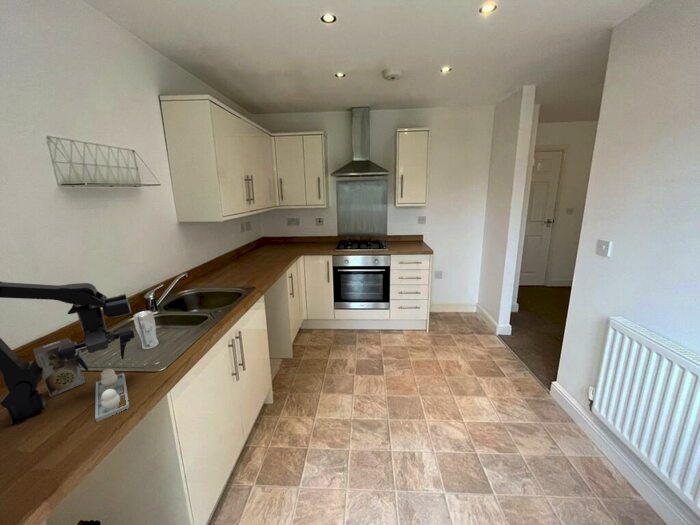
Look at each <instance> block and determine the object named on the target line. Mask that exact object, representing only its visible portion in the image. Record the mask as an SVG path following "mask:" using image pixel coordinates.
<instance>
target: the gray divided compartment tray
mask: <svg viewBox="0 0 700 525" xmlns="http://www.w3.org/2000/svg"><path fill="white" fill-rule="evenodd" d="M116 375H117V376H118V380H117V385H116V386H113V387H111V388H108V389H114V390H116V392H117V394H118V395H119V394H120V393H122V392H123V390H122V387H123V388H124V394H121V395H119V396H120V399H122V398H124V397H125V400H126V405H125V406H122V407H120V408H117V409H115V410H112V411H110V412H107V411H106V409H105V408H103V407H102V405H101V402H102V399H101V395H102V393H103V392H104V391H105V390H107V389H106V388H105V386H103V385H102V384H101V380H99V381H96V382H95V403H94V404H95V408H94V409H95V410H94V412H95V414H94V419H95V422H96V423H98V422H101V421H103V420H105V419H108V418H110V417H112V415H113V416H115V415H117V414H119V412H120V413H122V412H124V411H123V410H125V409H127V410H129V409H130V408H129V407H130V400H129V395H128V388H127V382H126V375H125V372H122V373H119V374H116ZM120 389H121V390H122V391H121V390H120ZM128 400H129V401H128ZM128 408H129V409H128ZM121 411H122V412H121ZM125 411H126V410H125ZM116 413H117V414H116Z"/></svg>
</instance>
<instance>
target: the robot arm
mask: <svg viewBox="0 0 700 525" xmlns="http://www.w3.org/2000/svg"><path fill="white" fill-rule="evenodd" d="M0 299H21V300H22V299H23V300H53V301H58V302H61V303H64V304H70V305H72V306H71V308H70V309H69V310H68V311H67V314H68V315H72V314H77V317H78V321H79V325H80V326H81V327H80V328H81V329H82V333H83V336H84V337H83V342H81V343H78V342H76V341H71V343H67V344H64V345H61V346H60V348H59V351H58V355H59V358H60V360H63V359H67V360H70V359H72V360H75V361H76V362H78V363H79V365H80V367H81V368H83V369H84V370H85V371H86V372H88V371H89V365H88V364H87V361H86V359H85V357H84V355H83V352H82V350H84V349H87V352H88V353H89V354H93V353H96V352H99V351H102V350H103V351H104V350H107V349H108V348H109V345H110V344H111V343H113V342H115V341H116V340H118V341H119V349H120V357H121V360H124V359H125V357H124V356H125V350H126V347H127V344H128V343H130V342H131V340H132V339H134V338H135V337H136V336H135V333H134V329H133V327H132V326H130V325H129V326H124V327H121V328H118V329H117V332H116V333H114V331H113V330H109V331H108V328H107V325H106V321H105V318H104V316H105V317H107V318H110V319H113V318H116V317H120V316H121V317H122V316H126V315H130V314H132V309H131V304H130V301H129V300H128V297H127V295H126V293H124V294H120V295H117V296H111V297H107V295H105V294H103V293H101V292H100V291H99V290H98V289H97V288H96V286H95V285H94V284H92V283H88V282H82V283H81V282H80V283H68V284H61V285H58V284H57V285H55V284H36V283H25V282H24V283H21V282H5V281H1V280H0ZM101 308H102V309H101ZM77 343H78V344H77ZM42 370H43V368H41V367H39V366H38V363H37V361H36V359H34V360H32V361H29V362H27V361H24V360H22V359H21V358H20V357H19V356H18V355H17V354H16V352H15V351H13V349H12V348H11V347H9V345H8V344H7V343H6V342H5V341H4V340H3V339H2V338H1V337H0V374H1V376H2V381H3V384H4V386H5V388H6V389H7V392H6V394H5V395H4V397H3V398H2V400H1V401H0V405H1V406H2V407H4V408H5V409H6V410H7V413H8V415H9V418H10V420H11V421H10V424H9V425H10V426H14V425H15V424H18V423H21V422H24V421H27V420H28V419H31V418H34V417H37V416H40V415H41V414H43V412H44V409H45V407H46V401H45V398H44V397H43V393H39V391H38V386H39V384H40V382H41V381H42V379H43V373H42Z"/></svg>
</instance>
